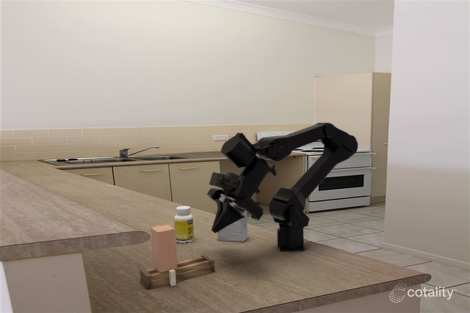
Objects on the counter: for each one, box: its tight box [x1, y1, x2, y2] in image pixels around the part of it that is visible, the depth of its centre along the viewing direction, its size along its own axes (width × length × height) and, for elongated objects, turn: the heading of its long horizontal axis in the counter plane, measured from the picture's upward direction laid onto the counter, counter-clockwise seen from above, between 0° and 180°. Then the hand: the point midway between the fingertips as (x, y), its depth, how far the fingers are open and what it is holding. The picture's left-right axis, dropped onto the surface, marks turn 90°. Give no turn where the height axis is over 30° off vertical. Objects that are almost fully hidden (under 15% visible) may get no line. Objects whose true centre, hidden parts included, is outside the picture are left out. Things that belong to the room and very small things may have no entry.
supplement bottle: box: [173, 205, 195, 244], centre depth 118 cm, size 5×5×10 cm
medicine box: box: [216, 211, 249, 243], centre depth 118 cm, size 8×4×9 cm, turn 71°
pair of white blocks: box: [169, 269, 177, 287], centre depth 91 cm, size 1×8×3 cm, turn 31°
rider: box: [150, 224, 178, 273], centre depth 90 cm, size 4×4×10 cm
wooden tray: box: [139, 253, 216, 290], centre depth 92 cm, size 16×5×3 cm, turn 121°
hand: (213, 231), depth 97 cm, fingers closed
